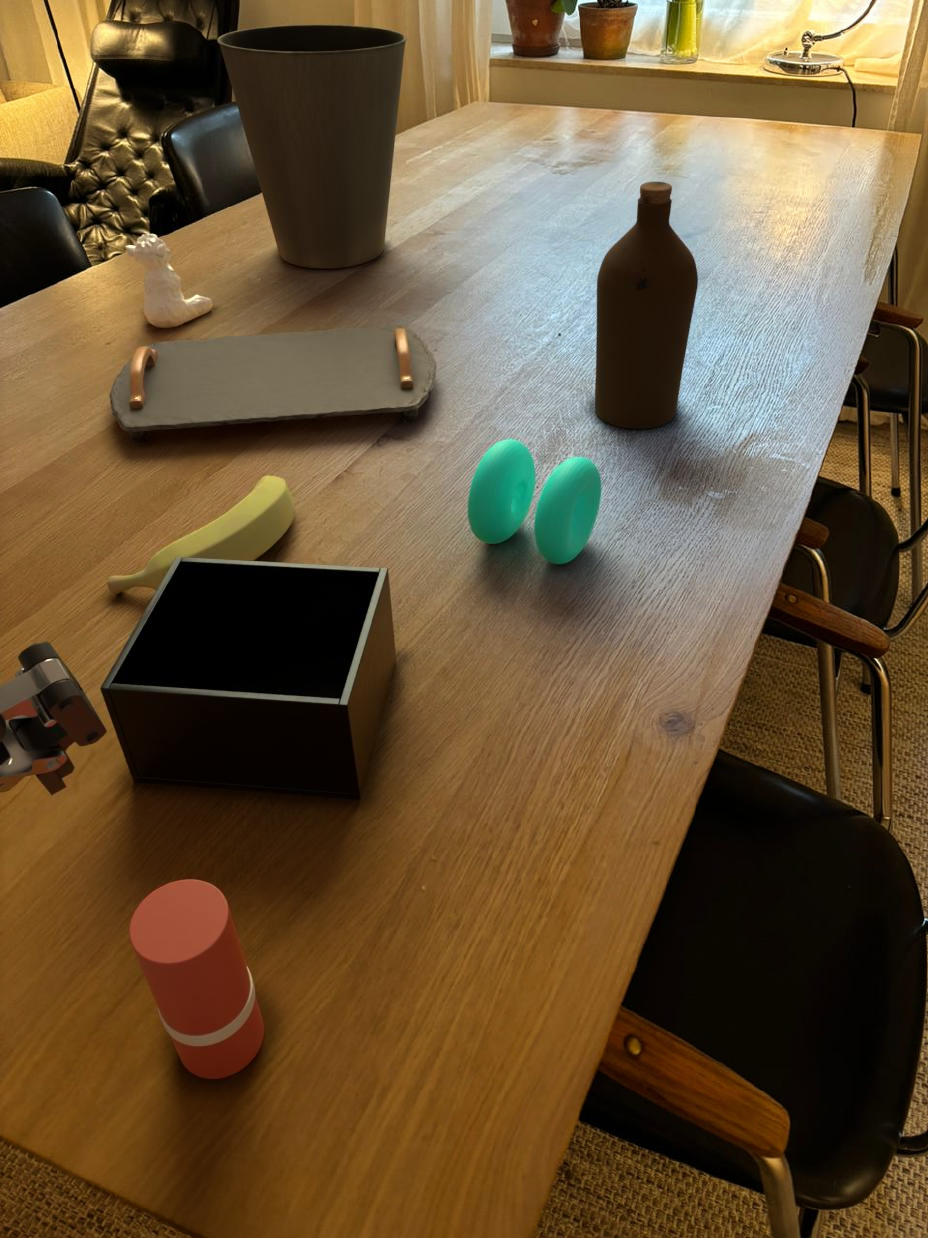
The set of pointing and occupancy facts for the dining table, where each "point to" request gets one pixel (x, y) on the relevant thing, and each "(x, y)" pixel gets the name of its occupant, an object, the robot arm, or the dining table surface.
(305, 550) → the dining table surface
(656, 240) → the olive oil
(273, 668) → the bin
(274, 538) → the banana
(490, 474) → the green wheel pair
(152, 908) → the striped red cylinder
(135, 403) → the serving tray
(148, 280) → the white creature statuette
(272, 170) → the waste basket
